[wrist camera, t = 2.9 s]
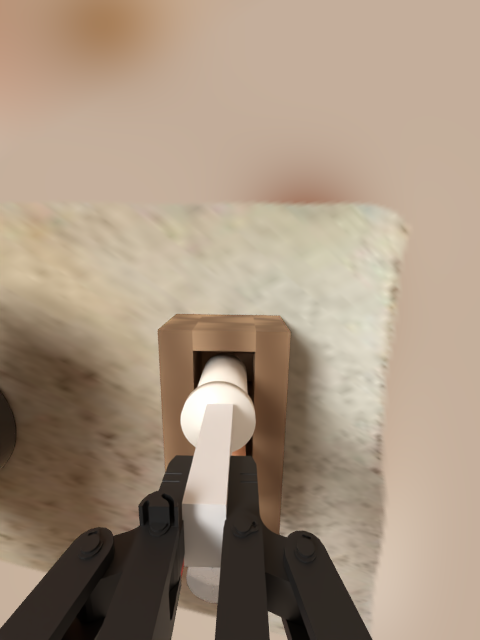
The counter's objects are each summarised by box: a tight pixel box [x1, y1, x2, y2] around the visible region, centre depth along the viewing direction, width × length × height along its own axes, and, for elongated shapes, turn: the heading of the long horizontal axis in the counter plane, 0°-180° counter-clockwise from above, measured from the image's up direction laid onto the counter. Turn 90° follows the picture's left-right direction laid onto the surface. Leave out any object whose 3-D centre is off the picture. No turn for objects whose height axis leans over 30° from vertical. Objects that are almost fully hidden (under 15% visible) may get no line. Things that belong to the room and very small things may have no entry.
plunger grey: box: [186, 567, 220, 603], centre depth 22 cm, size 4×4×7 cm
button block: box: [158, 314, 291, 535], centre depth 26 cm, size 10×20×6 cm, turn 179°
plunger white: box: [181, 353, 256, 452], centre depth 19 cm, size 4×4×7 cm
